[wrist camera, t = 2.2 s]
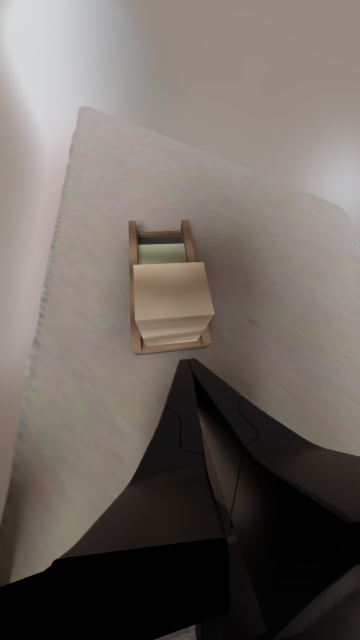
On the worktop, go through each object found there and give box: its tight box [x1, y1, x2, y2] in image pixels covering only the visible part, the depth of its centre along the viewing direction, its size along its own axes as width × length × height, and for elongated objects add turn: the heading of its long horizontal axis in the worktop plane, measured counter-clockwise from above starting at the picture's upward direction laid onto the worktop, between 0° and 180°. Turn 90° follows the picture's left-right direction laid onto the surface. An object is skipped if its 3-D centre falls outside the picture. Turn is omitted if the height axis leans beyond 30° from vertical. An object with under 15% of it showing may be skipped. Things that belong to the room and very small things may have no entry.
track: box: [129, 220, 212, 355], centre depth 24 cm, size 20×9×3 cm, turn 7°
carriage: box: [133, 262, 215, 346], centre depth 17 cm, size 5×6×8 cm
